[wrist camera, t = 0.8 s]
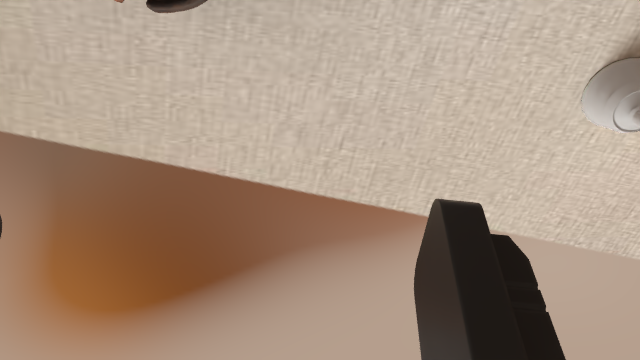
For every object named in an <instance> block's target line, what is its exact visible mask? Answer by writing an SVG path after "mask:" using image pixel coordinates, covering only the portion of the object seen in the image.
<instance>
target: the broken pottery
mask: <svg viewBox="0 0 640 360" xmlns="http://www.w3.org/2000/svg"><path fill="white" fill-rule="evenodd" d="M115 1H117V2H121V3H122V2H123V1H124V0H115ZM206 1H207V0H147V2H146V5H147V7H148V8H149V9H151V10H153V11H154V12H158V13H173V12H178V11H185V10H189V9H192V8H195V7H197V6H199V5H201V4H203V3H204V2H206Z"/></svg>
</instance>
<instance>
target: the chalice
mask: <svg viewBox="0 0 640 360" xmlns="http://www.w3.org/2000/svg"><path fill="white" fill-rule="evenodd" d="M581 102H582V111H583V113H584V114H585V116H586V118H587V119H588V120H589V121H591V122H592V123H594V124H595V125H597V126H601V127H604V128H607V129H610V130H613V131H616V132H620V133H633V132H637V131H640V58H627V59H624V60H621V61H617V62H614V63H612V64H610V65H609V66H607V67H605V68H603V69H602V70H601V71H599V72H598V73H597V74H596V75H595V76H594V77H593V78H592V79H591V80H590V82H589V83H588V85H587V86H586V88H585V90H584V93H583V97H582V100H581Z"/></svg>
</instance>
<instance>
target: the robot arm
mask: <svg viewBox="0 0 640 360" xmlns="http://www.w3.org/2000/svg"><path fill="white" fill-rule="evenodd" d="M1 233H2V220H1V216H0V237H1ZM414 296H415V304H416V314H417V323H418V332H419V340H420V350H421V359H422V360H566V359H565V356H564V354H563V351H562V348H561V346H560V343H559V340H558V338H557V335H556V332H555V330H554V327H553V324H552V321H551V318H550V316H549V313H548V312H546V305H545V302H544V299H543V297H542V294H541V291H540V290H538V283H537V280H536V278H535V275H534V272H533V269H532V267H531V264H530V261H529V259H528V258H527V257H526V255H525V254H524V253H523V252H522V251H521V250H520V249H519V248H518V246H517V245H516V244H515V243H514V242H513V241H512V239H511V238H510V237H509V236H506V235H495V234H490V231H489V228H488V224H487V221H486V218H485V214H484V211H483V208H482V206H481V204H479V203H474V202H464V201H454V200H444V199H435V201H434V202H433V204H432V207H431V211H430V214H429V218H428V222H427V225H426V229H425V233H424V237H423V240H422V244H421V247H420V251H419V255H418V258H417V262H416V268H415V277H414Z"/></svg>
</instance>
